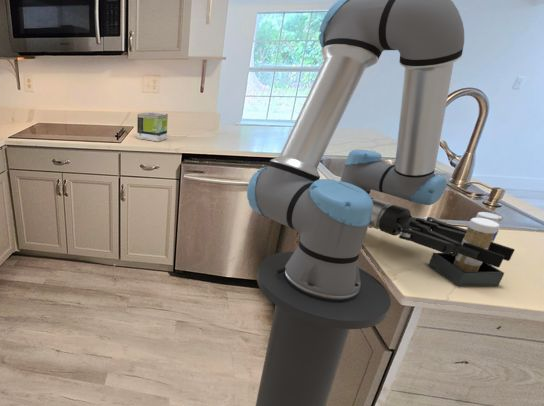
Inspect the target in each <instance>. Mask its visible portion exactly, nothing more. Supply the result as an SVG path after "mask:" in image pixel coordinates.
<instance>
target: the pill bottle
mask: <svg viewBox="0 0 544 406" xmlns="http://www.w3.org/2000/svg"><path fill="white" fill-rule="evenodd" d="M475 218H485V219H489V220H492V221H495V222H497V223H498V224H499V222H500V219H501V217H500V216H499V215H497V214H496V213H492V212H486V211H478V212H477V213H476V216H475ZM466 230H468V227H467V228H466ZM499 231H500V226H499V229H498V231H497V233H495V235H494V237H493V239H492V241H491V242H493V243H495V239H496V238H497V236H498V233H499Z"/></svg>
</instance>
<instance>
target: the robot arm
mask: <svg viewBox="0 0 544 406" xmlns="http://www.w3.org/2000/svg"><path fill="white" fill-rule="evenodd" d="M319 33H320V34H319V35H318V41H319V44H320V46H321V50H320V53H321V55H322V58H323V62H322V64H321V66H320V69H319V71H318V73H317V75H316V77H315V79H314V82H313V83H312V86H311V88H310V90H309V93H308V94H307V96H306V99H305V101H304V103H303V105H302V107H301V109H300V111H299V114H298V116H297V118H296V121H295V122H294V125H293V126H292V129H291V131H290V133H289V136H288V137H287V139H286V142H285V143H284V146H283V148H282V150H281V152H280V154H279V156H277V157H274V158H271V159H270V160H269V163H268V165H267V166H266V167H261V168H259V169H258V170H257V171H256V172H254V173H253V175H251V178H250V179H249V182H248V184H247V189H246V198H247V200H248V205H249V207H250V208H251V209H252V210H253V211H254V212H256V213H257V214H260V215H261V216H262V217H264V218H266V219H270V220H272V221H274V222H276V223H279V224H281V225H283V226H285V227H287V228H290V229H292V230H293V231H297V232H298V233H300V236H299V242H298V245H297V247H296V249H295V250H294V251H293V252H294V253H293V255H292V256H291V258H290V259H289V261H288V262H287V264H286V265H285V267H284V268H281V269H278V270H277V273H278V274H279V273H282V272H284V278H285V280H286V281H287V282H288V284H289V285H290V286H292V287H293V288H294V289H296V290H297V291H299V292H301V293H303V294H305V295H307V296H309V297H312V298H315V299H319V300H323V301H328V302H346V301H350V300H353V299H355V298H356V297H357V296H358V294H359V291H360V287H361V282H360V274H359V268H360V267H359V258H360V254H361V251H362V247H363V244H364V242H365V238H366V234H367V231H368V229H375V230H379V231H381V232H383V233H386V234H387V235H390V236H394V237H395V236H396V237H397V236H398V238H399V239H400V240H405V241H409V242H412V243H415V244H417V245H420V246H422V247H426V248H429V249H430V250H434V251H437V252H438V253H445V254H451V253H452V255H451V256H455V257H456V256H457V255H458V253H459V254H462V255H464V256H467V257H470V258H473V259H476V260H478V261H481V262H484V263H487V264H489V265H492V266H493V267H495V268H500V267H501V266H502V265H501V264H502V263H503V261H507V262H509V261H510V260H511V259H512V257H513V254H514V253H515V248H512V247H509V246H505V245H502V244H499V243H497V242H491V243H490V246H489V248H488V250H487V249H484V248H481V247H478V246H475V245H472V244H469V243H466V242H465V243H463V246H462V240H463V238H464V237H465V234H466V232H467V228H466V229H465V228H463V227H460V226H456V225H453V224H450V223H447V222H444V221H441V220H438V219H436V218H434V217H432V216H427V218H426V219H424V218H421V217H413V216H412V213H411V210H410V209H409V208H406V207H402V206H399V205H396V204H392V203H390V202H387V201H383V200H380V199H377V198H373V197H371V195H370V193H371V191H375V192H379V193H382V194H385V195H389V196H393V197H395V198H400V199H402V200H406V201H408V202H411V203H416V204H420V205H425V206H431V205H434V204H436V203H437V202H438V201H439V200H440V199H441V198H442V196H444V193H445V191H446V188H447V185H448V182H447V178H446V177H444V176H443V175H439V174H438V173H435V171H436V164H437V161H438V160H437V159H438V153H439V150H440V149H439V147H440V142H441V137H442V133H443V132H442V131H443V126H444V119H445V115H446V109H447V103H448V97H449V91H450V86H451V80H452V74H453V69H454V63H456V62H457V61H458V60H459V59H461V58H462V57H463V52H464V46H465V28H464V22H463V19H462V17H461V14H460V11H459V9H458V7H457V5H455V3H454V2H453V0H337V1H336V2H335V3H334V4H332V5H331V7H329V9H328V10H327V12H326V13H325V15H324V17H323V18H322V21H321V24H320V27H319ZM384 51H398V52H399V61H398V62H399V65H400V66H401V67H403V68H404V71H403V72H404V73H403V83H402V92H401V105H400V111H399V122H398V133H397V143H396V153H395V162H394V164H391V163H387V162H383V161H382V154H381V153H379V152H376V151H374V150H368V149H351V150H350V152H349V153H348V155H347V157H346V161H345V163H344V164H343V170H342V174H341V178H340V180H335V179H332V178H321V175H320V173H319V171H318V167H319V165H320V162H321V161H322V159H323V156H324V154H325V153H326V151H327V148H328V146H329V144H330V142H331V141H332V138H333V136H334V134H335V132H336V129H337V128H338V126H339V124H340V121H341V120H342V117H344V114H345V112H346V110H347V107H348V105H349V103H350V101H351V99H352V97H353V95H354V93H355V91H356V89H357V87H358V86H359V83H360V81H361V79H362V76H363V75H364V73H365V71H366V69H367V68H370V67H372V66H374V65H376V64H377V63H378V61H379V59H380V58H381V55H382V53H383V52H384Z"/></svg>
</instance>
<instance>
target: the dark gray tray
mask: <svg viewBox="0 0 544 406" xmlns="http://www.w3.org/2000/svg"><path fill="white" fill-rule="evenodd" d="M451 255H452V252H451V254H445V253H442V252H433V253H432V255H431V258H430V259H429V263H428V266H429V267H431V268H432V269H433V270H435V271H436V272H438V273H439V274H440V275H442V276H443V277H444V278H445V279H447V280H449V282H452V283H453V284H455V286H457V287H499V286H500V283H501V281H502V279H503V277H504V275H505V272H504V271H502V270H500V269H499V268H498V267H495V266H492V265H489V264H487V263H484V262H482V264H481V265H480V268H479V270H478V272H464V271H462V270H461V269H459V268H458V267H456V266H455V265H453V263H454V261H455V259H456V258H455V256H451Z"/></svg>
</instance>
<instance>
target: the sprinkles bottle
mask: <svg viewBox="0 0 544 406" xmlns="http://www.w3.org/2000/svg"><path fill="white" fill-rule="evenodd" d="M499 227H500V223H499V222H498V223H497V222H495V221H492V220H489V219H485V218H476V217H472V218H470V220H469V222H468V225H467V228H468V230H467V229H466V230H467V232H466V234H465V237H464V238H463V240H462V246H463V243H465V242H466V243H469V244H472V245H475V246H478V247H481V248H484V249H487V250H488V248H489V246H490V243H491V241H492V239H493V237H494V235H495V233H497V231H498V229H499V230H500V228H499ZM498 232H499V231H498ZM497 234H498V233H497ZM455 258H456V259H455V261H454V263H453V265H455V266H456V267H458V268H459V269H461V270H462V271H464V272H478V270H479V268H480V265H481V264H482V262H481V261H478V260H476V259H473V258H470V257H467V256H464V255H462V254H459V253H458V255H457V256H456V257H455Z"/></svg>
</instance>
